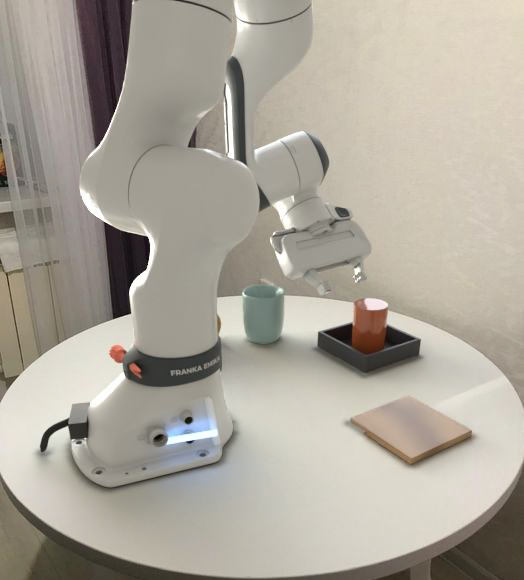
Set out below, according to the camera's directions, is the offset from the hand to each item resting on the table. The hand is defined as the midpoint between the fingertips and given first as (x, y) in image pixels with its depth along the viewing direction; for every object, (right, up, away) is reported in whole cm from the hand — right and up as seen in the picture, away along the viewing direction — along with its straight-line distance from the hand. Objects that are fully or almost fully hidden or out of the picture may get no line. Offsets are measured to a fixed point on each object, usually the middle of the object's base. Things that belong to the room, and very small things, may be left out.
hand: (344, 287), depth 108 cm
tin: (+4, -12, 0) cm, 13 cm away
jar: (+4, -12, 0) cm, 12 cm away
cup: (-15, -10, +6) cm, 19 cm away
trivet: (+6, -23, -23) cm, 33 cm away
